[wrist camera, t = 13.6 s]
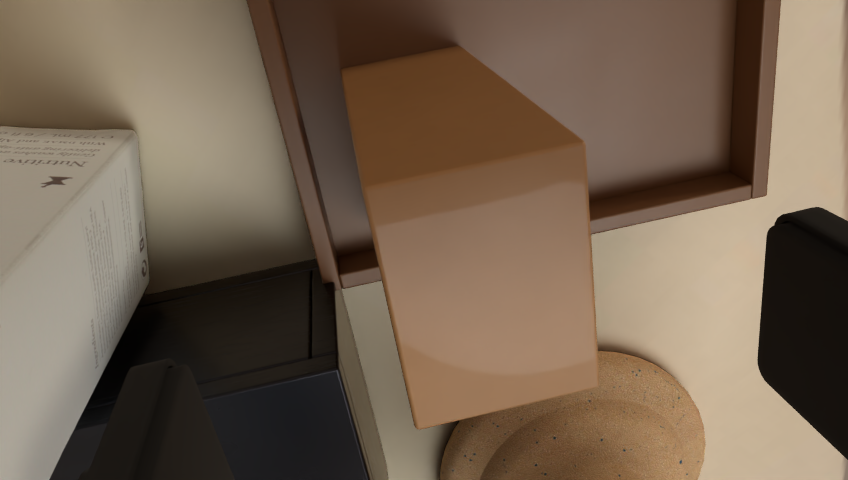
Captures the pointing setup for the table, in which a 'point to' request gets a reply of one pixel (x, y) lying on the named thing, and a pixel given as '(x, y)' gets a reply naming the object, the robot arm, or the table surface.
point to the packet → (475, 234)
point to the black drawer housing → (253, 376)
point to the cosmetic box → (63, 280)
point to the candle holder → (587, 432)
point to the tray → (539, 97)
